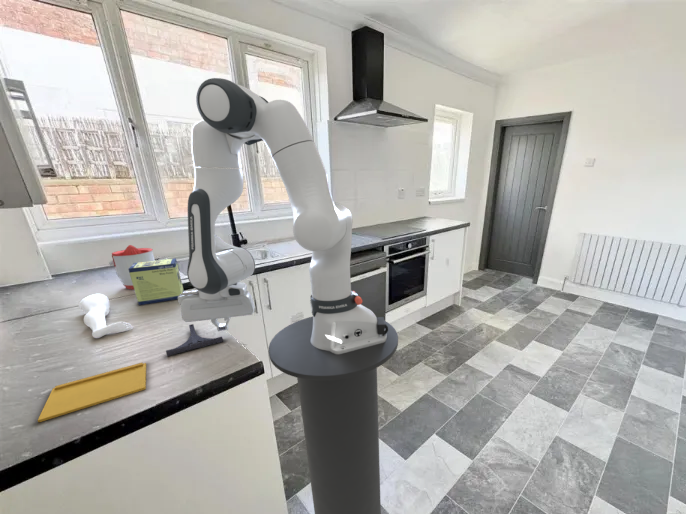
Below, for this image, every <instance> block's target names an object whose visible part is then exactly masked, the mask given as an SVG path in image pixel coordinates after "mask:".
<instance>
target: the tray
mask: <svg viewBox="0 0 686 514" xmlns="http://www.w3.org/2000/svg"><path fill="white" fill-rule="evenodd" d="M146 389H147V362H144V363H143V362H137V363H135V364H132V365H131V364H130V365H127V366H124V367H120V368H117V369H113V370H109V371H106V372H105V371H104V372H102V373H98V374H95V375H91V376H87V377H84V378H81V379H77V380H73V381H69V382H65V383H62V384H58V385H55V386H54V387H52V389H51V392H50V393H49V396H48V398H47V400H46V402H45V404H44V406H43V408H42V411H41V412H40V415H39V416H38V419H37V422H38V423H42V422H45V421H48V420H51V419H55V418H58V417H62V416H64V415H67V414H71V413H74V412H78V411H80V410H84V409H87V408H90V407H93V406H96V405H97V406H98V405H99V404H103V403H106V402H109V401H114V400H116V399H119V398H121V397H125V396H129V395H131V394H135V393H138V392H141V391H144V390H146Z"/></svg>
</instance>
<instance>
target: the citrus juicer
mask: <svg viewBox="0 0 686 514" xmlns="http://www.w3.org/2000/svg"><path fill="white" fill-rule="evenodd" d="M111 258H112V260H110V261H109V262H108V267H112V266H114V269H115V273H116V275H117V277H118V279H119V281H120V282H121V283H122V285H123V286H124V287H125V289H127V290H131V291H135V290H134V287H133V283H132V280H131V277H130V273H129V270H128V269H129V268H130V267H131V266H132V265H133V263H139V262H148V261H156V260H155V259H156V258H155V255H154V252H153V248H151V247H140V248H139V247H138V248H137V247H136V246H134V245H132V244H129V245H128V246H127V247H126V248H125V249H123V250H117V251H114V252H111Z"/></svg>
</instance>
